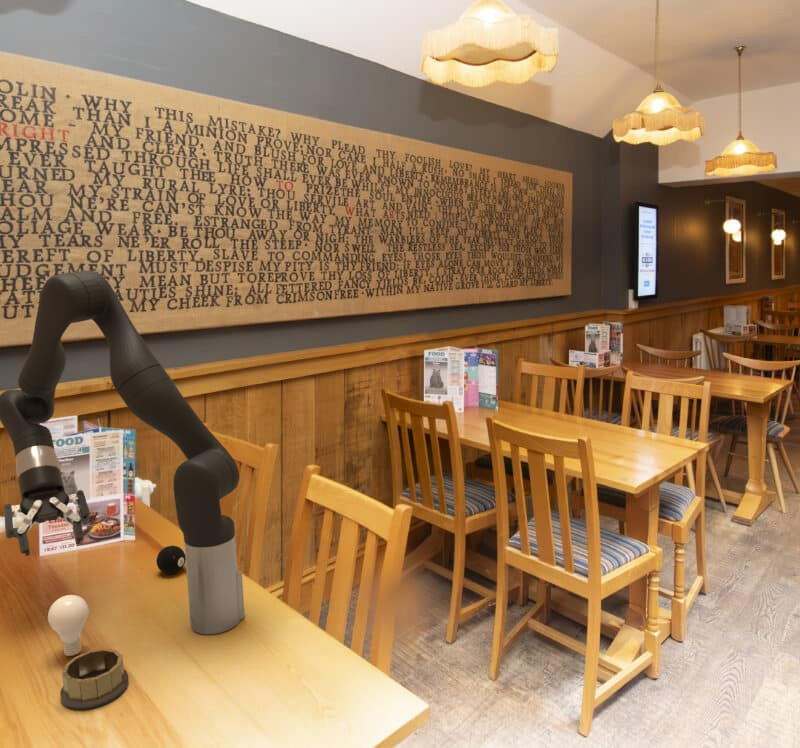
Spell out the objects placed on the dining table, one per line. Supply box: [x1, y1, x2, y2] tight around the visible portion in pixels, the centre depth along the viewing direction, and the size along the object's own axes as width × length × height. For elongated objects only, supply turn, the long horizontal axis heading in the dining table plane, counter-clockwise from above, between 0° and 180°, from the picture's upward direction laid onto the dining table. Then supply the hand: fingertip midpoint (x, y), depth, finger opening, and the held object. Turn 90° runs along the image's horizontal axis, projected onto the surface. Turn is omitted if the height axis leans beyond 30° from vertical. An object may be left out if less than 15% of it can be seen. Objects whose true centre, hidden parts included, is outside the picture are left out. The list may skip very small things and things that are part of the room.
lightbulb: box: [47, 594, 89, 657], centre depth 115 cm, size 6×6×11 cm
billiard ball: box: [156, 545, 186, 575], centre depth 146 cm, size 6×6×6 cm
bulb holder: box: [59, 648, 130, 711], centre depth 106 cm, size 10×10×4 cm
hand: (53, 548), depth 123 cm, fingers open, 8 cm apart
